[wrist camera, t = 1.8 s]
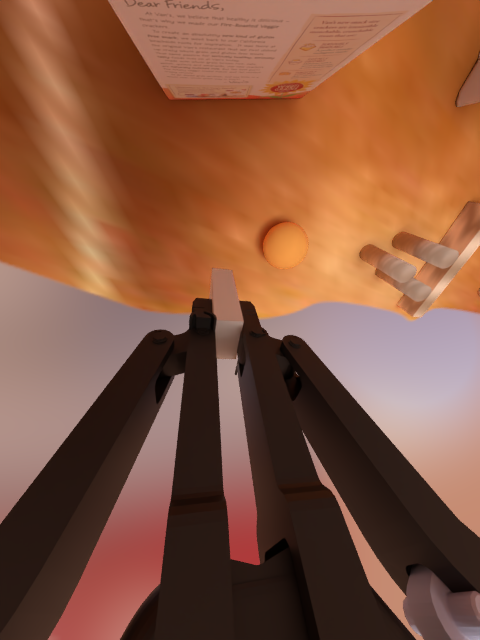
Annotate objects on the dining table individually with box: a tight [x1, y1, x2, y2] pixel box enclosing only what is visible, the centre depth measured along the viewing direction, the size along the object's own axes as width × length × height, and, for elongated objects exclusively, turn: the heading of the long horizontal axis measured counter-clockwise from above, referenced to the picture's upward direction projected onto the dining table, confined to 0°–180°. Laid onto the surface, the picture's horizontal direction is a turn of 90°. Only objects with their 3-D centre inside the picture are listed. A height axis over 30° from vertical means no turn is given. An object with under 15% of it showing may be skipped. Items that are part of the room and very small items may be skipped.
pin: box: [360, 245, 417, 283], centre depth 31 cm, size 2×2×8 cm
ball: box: [263, 222, 308, 269], centre depth 29 cm, size 6×6×6 cm
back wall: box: [397, 202, 480, 317], centre depth 35 cm, size 18×2×4 cm, turn 171°
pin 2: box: [375, 269, 432, 302], centre depth 33 cm, size 2×2×8 cm
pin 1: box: [392, 232, 459, 269], centre depth 30 cm, size 2×2×8 cm
